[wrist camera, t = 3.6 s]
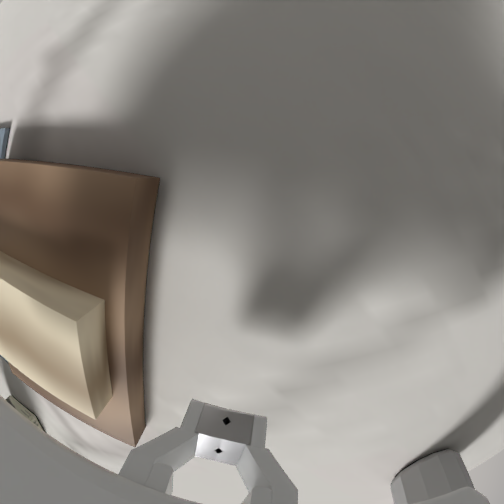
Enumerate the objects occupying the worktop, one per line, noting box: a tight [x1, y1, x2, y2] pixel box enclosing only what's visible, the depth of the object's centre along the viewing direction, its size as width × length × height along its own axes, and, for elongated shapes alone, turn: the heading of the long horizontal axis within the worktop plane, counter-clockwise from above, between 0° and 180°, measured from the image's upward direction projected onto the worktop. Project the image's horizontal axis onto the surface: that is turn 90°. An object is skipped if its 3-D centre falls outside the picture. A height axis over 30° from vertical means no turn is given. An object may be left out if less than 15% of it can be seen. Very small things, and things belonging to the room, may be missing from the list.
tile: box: [0, 251, 113, 420], centre depth 10 cm, size 6×9×2 cm, turn 77°
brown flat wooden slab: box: [0, 159, 160, 447], centre depth 12 cm, size 16×12×2 cm
